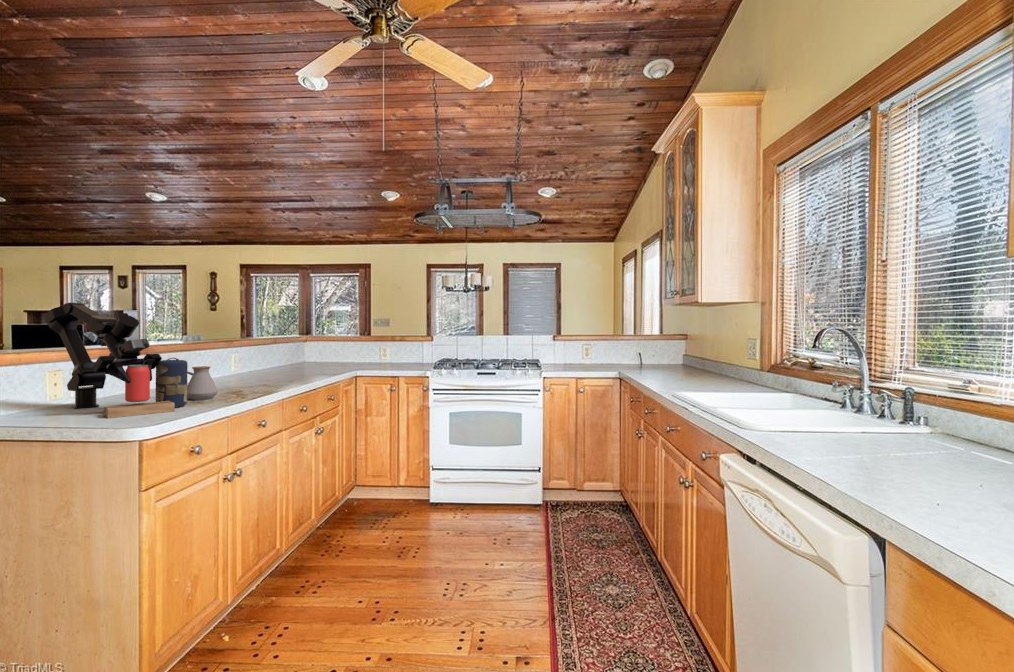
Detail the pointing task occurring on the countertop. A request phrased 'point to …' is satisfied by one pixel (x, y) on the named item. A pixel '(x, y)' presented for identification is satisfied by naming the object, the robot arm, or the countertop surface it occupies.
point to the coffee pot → (201, 384)
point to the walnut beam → (138, 409)
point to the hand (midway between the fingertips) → (140, 381)
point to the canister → (171, 381)
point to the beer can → (137, 383)
